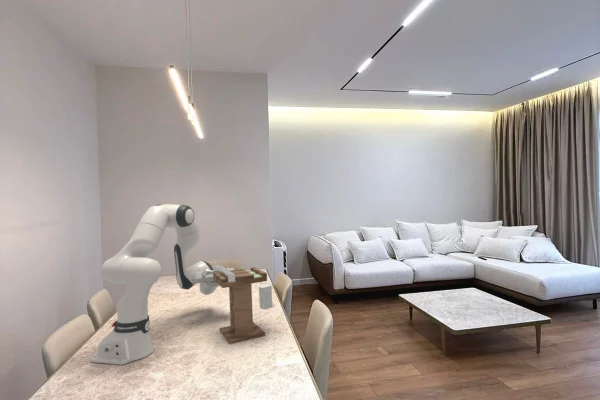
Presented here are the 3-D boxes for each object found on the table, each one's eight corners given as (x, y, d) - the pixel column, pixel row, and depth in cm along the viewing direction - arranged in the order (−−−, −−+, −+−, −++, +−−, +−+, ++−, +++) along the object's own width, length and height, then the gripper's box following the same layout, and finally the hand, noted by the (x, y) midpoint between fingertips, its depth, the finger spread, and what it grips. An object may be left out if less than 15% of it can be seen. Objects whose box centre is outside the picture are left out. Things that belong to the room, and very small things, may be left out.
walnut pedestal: (215, 332, 155) (213, 272, 155) (256, 323, 164) (254, 267, 164) (224, 345, 141) (222, 279, 141) (269, 334, 150) (266, 273, 150)
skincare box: (267, 305, 192) (267, 284, 192) (272, 306, 189) (271, 285, 189) (259, 307, 188) (258, 286, 188) (264, 309, 185) (263, 287, 184)
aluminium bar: (213, 271, 165) (213, 265, 165) (219, 270, 166) (219, 264, 166) (228, 282, 142) (228, 275, 142) (235, 281, 143) (235, 274, 143)
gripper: (190, 276, 171) (194, 266, 160) (229, 271, 181) (236, 261, 170) (191, 288, 168) (196, 279, 158) (231, 282, 178) (238, 273, 167)
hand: (217, 270), depth 164 cm, fingers open, 8 cm apart
